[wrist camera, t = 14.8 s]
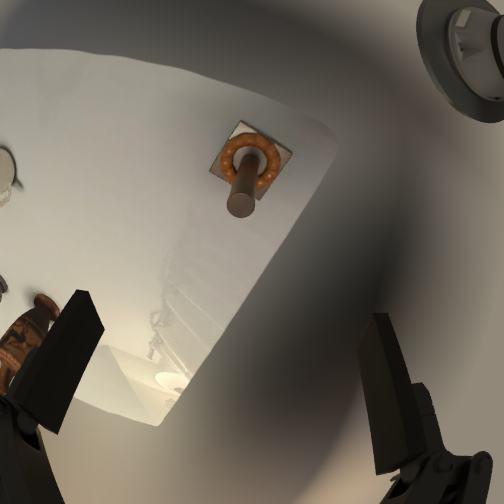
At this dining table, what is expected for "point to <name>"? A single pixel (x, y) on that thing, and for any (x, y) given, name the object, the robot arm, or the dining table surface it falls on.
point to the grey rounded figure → (2, 287)
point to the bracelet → (255, 141)
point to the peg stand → (248, 172)
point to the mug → (6, 174)
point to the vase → (24, 338)
